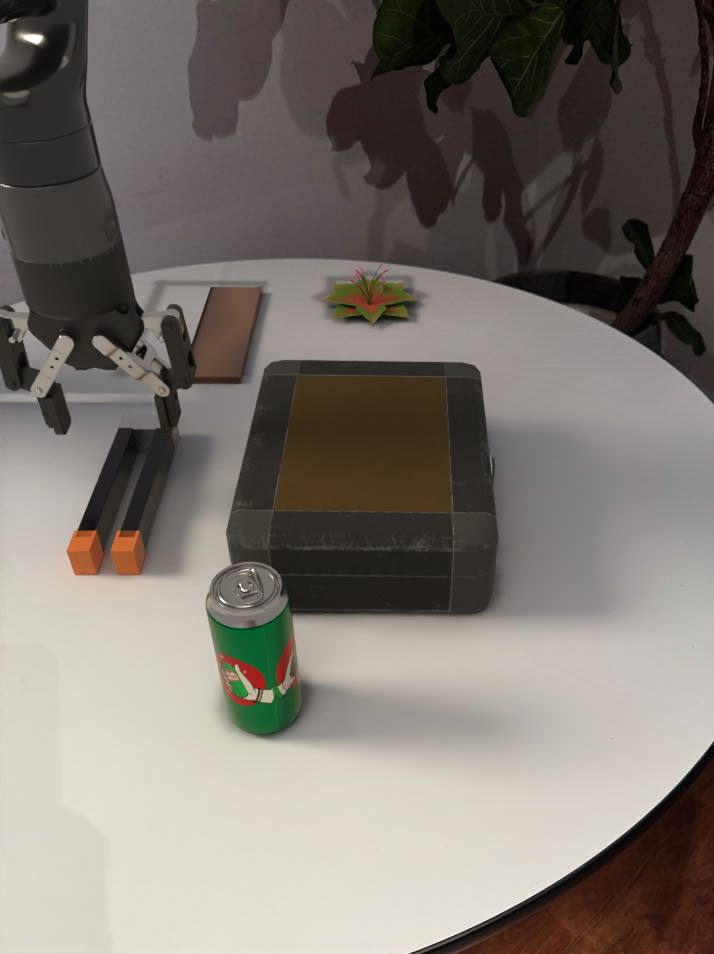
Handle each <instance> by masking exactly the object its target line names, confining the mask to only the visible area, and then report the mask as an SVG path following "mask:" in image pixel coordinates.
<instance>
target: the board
mask: <svg viewBox="0 0 714 954" xmlns="http://www.w3.org/2000/svg"><path fill="white" fill-rule="evenodd" d="M262 295H263V287H262V286H210V288H209V290H208V294H207V297H206V299H205V303H204V306H203V309H202V311H201V315H200V318H199V321H198V323H197V327H196V329H195V331H194V336H193V338H192V342H191V346H192V349H193V353H194V357H195V361H196V365H197V369H196V373H195V376H194V379H193V382H192V384H241V383H242V379H243V376H244V375H243V374H244V371H245V367H246V363H247V358H248V354H249V351H250V346H251V341H252V337H253V333H254V328H255V325H256V320H257V318H258V317H257V316H258V312H259V307H260V305H261V304H260V303H261V299H262Z"/></svg>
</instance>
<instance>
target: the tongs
mask: <svg viewBox="0 0 714 954" xmlns="http://www.w3.org/2000/svg"><path fill="white" fill-rule="evenodd" d="M179 440H180V431H179V426H178V425H177V427H174V429H173V432H172V434H162V431H161V427H160V422H159V418H158V414H157V413H123V414H122V418H121V420H120V423H119V424H118V428H117V431H116V433H115V435H114V438H113V440H112V442H111V445H110V448H109V450H108V452H107V455H106V457H105V461H104V463H103V465H102V468H101V470H100V472H99V475H98V478H97V479H96V483H95V485H94V487H93V490H92V492H91V495H90V497H89V500H88V503H87V505H86V508H85V510H84V513H83V515H82V517H81V520H80V522H79V525H78V528H77V530H74V531H73V534H72V535H71V538H70V540H69V543H68V546H67V548H66V554H67V557H68V560H69V563H70V565H71V567H72V571H73V574H74V575H97V574H98V572H99V570H100V566H101V564H102V561H103V558H104V555H105V552H104V548H105V545H106V543H107V540H108V536H109V535H110V532H111V529H112V526H113V523H114V521H115V517H116V515H117V512H118V509H119V507H120V504H121V501H122V499H123V495H124V493H125V489H126V487H127V484H128V481H129V478H130V476H131V473H132V470H133V467H134V464H135V462H136V459H137V456H138V453H139V452H146V455H145V457H144V461H143V463H142V466H141V469H140V472H139V475H138V477H137V480H136V483H135V486H134V489H133V492H132V495H131V498H130V501H129V504H128V507H127V509H126V511H125V516H124V518H123V521H122V524H121V527H120V529H119V530H117V531H116V534H115V537H114V539H113V543H112V545H111V549H110V555H111V558H112V561H113V564H114V567H115V571H116V574H117V575H141V572H142V568H143V565H144V562H145V559H146V555H147V553H146V548H147V543H148V541H149V537H150V533H151V531H152V527H153V524H154V520H155V518H156V514H157V512H158V508H159V505H160V501H161V499H162V498H161V497H162V495H163V492H164V488H165V485H166V482H167V478H168V475H169V472H170V469H171V465H172V462H173V458H174V455H175V453H176V449H177V445H178V442H179Z"/></svg>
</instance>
